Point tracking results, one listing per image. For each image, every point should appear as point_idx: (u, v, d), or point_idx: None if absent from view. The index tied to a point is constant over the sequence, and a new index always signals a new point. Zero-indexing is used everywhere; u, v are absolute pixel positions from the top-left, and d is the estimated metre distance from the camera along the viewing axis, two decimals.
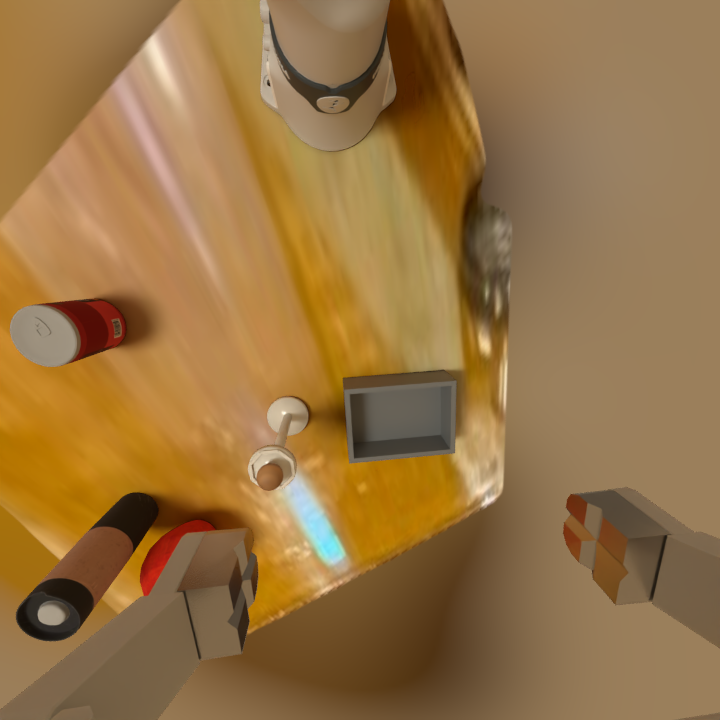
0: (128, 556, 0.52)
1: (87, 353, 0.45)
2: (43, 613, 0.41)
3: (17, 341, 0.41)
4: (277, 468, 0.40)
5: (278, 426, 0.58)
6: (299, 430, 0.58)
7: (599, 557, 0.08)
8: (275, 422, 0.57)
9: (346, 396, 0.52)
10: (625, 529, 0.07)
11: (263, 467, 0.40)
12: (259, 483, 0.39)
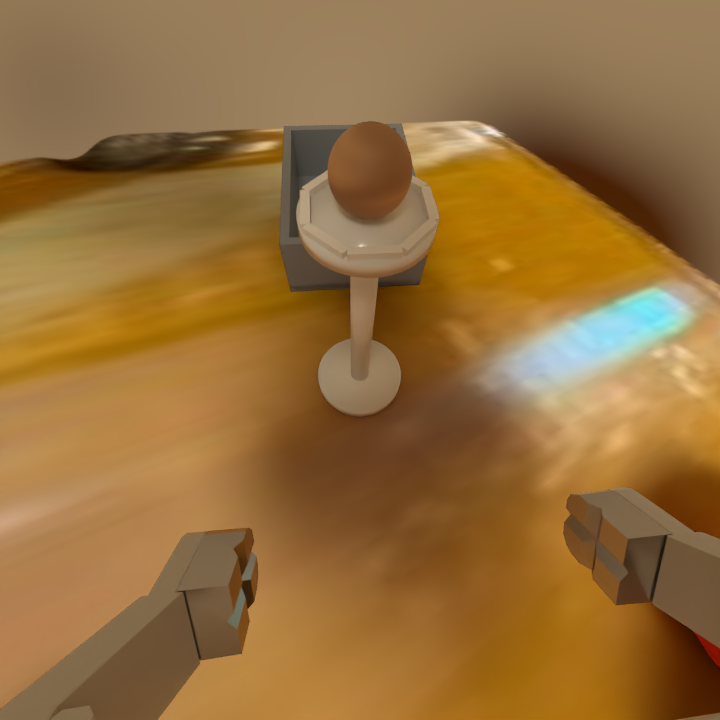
0: None
1: None
2: None
3: None
4: None
5: (380, 391, 0.27)
6: (388, 353, 0.29)
7: (599, 557, 0.08)
8: (371, 396, 0.27)
9: (293, 241, 0.28)
10: (625, 529, 0.07)
11: (331, 178, 0.12)
12: (374, 157, 0.11)
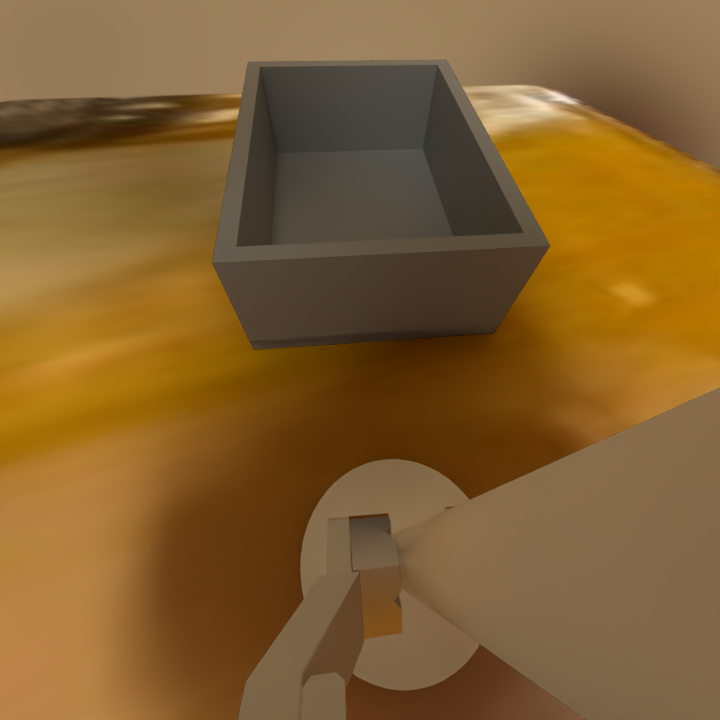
0: None
1: None
2: None
3: None
4: None
5: None
6: (459, 498, 0.13)
7: None
8: (432, 633, 0.11)
9: (244, 255, 0.12)
10: None
11: None
12: None
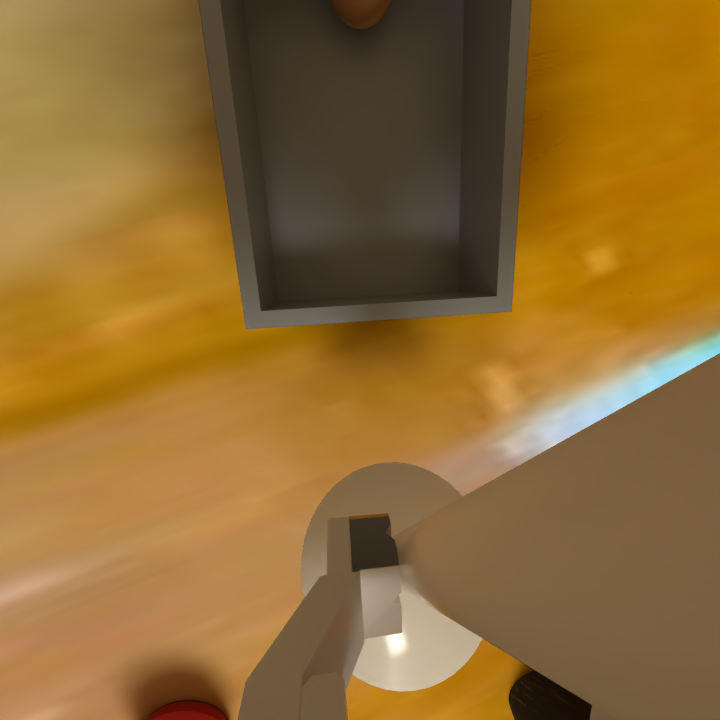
0: None
1: None
2: None
3: None
4: (363, 27, 0.16)
5: None
6: None
7: None
8: (430, 634, 0.11)
9: (269, 321, 0.16)
10: None
11: None
12: None
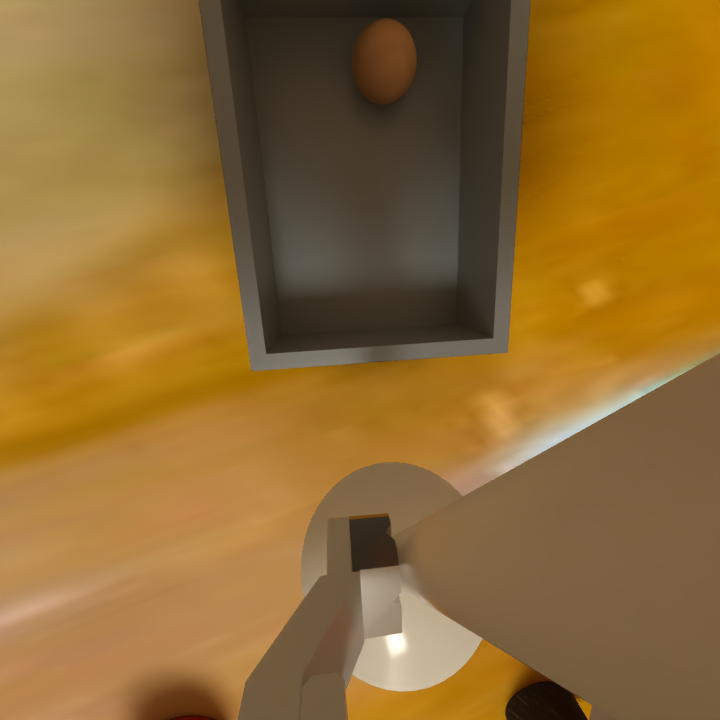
0: None
1: None
2: None
3: None
4: None
5: None
6: None
7: None
8: (431, 634, 0.11)
9: (274, 363, 0.16)
10: None
11: (353, 71, 0.17)
12: None
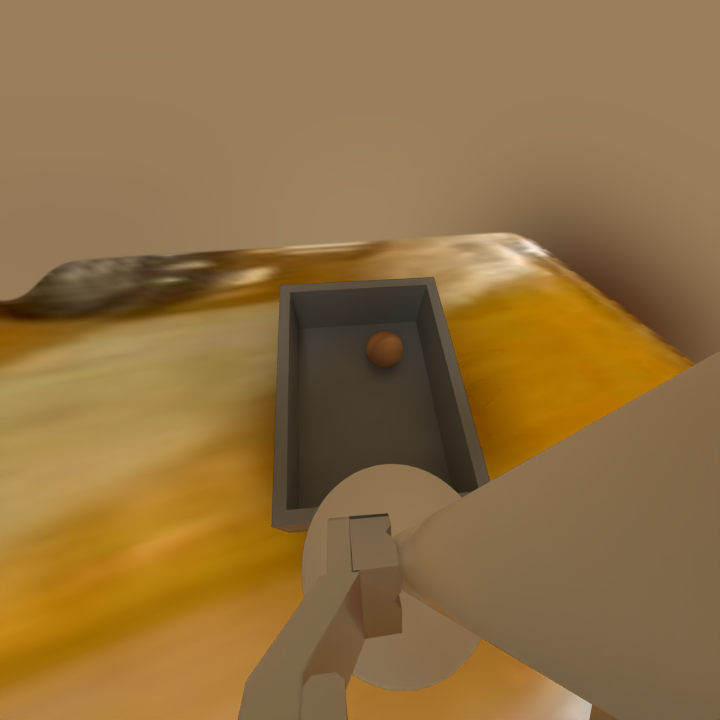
0: None
1: None
2: None
3: None
4: None
5: None
6: None
7: None
8: (430, 634, 0.11)
9: (292, 519, 0.19)
10: None
11: (368, 349, 0.28)
12: (379, 332, 0.28)
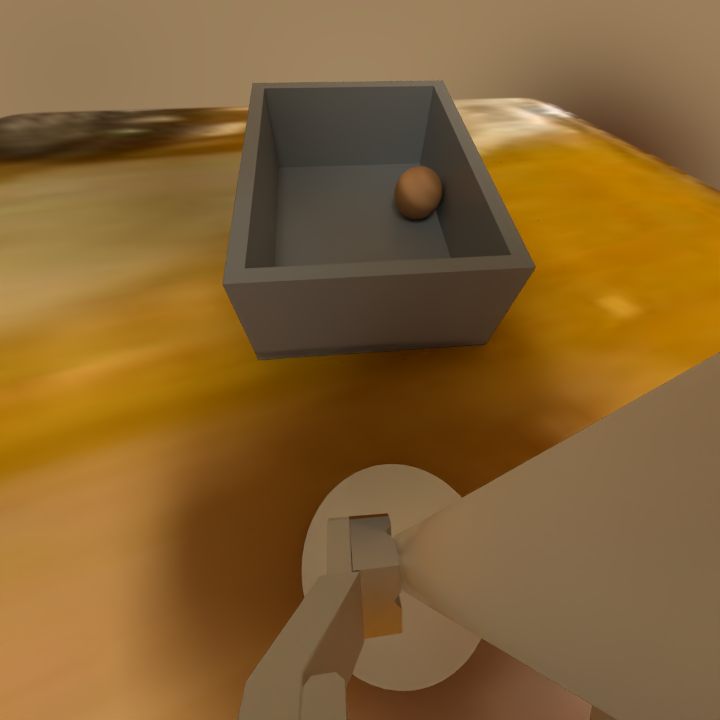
0: None
1: None
2: None
3: None
4: (402, 179, 0.21)
5: None
6: None
7: None
8: (430, 634, 0.11)
9: (252, 277, 0.13)
10: None
11: (415, 201, 0.21)
12: (440, 193, 0.22)
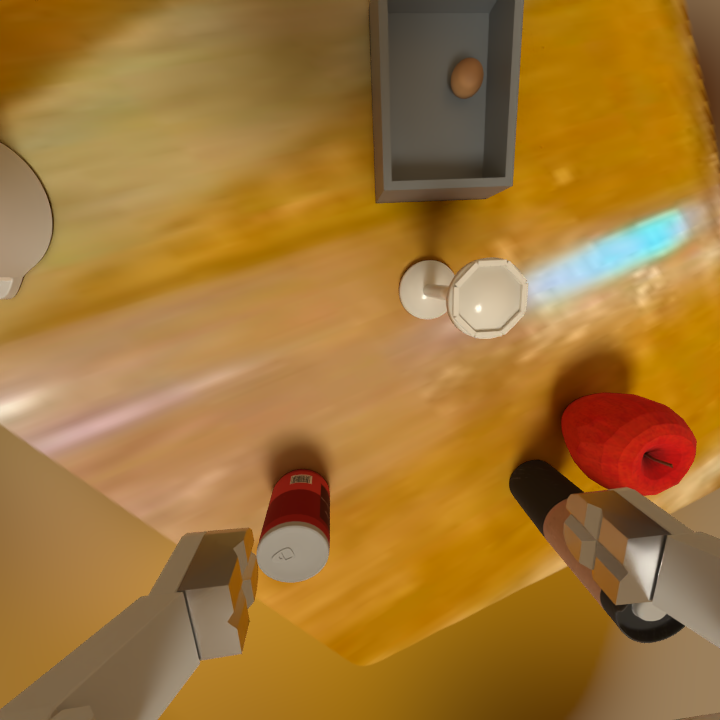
0: None
1: (319, 514, 0.38)
2: (648, 615, 0.31)
3: (299, 577, 0.37)
4: (451, 80, 0.33)
5: (441, 304, 0.41)
6: (451, 274, 0.40)
7: (599, 557, 0.08)
8: (435, 308, 0.41)
9: (395, 186, 0.32)
10: (625, 529, 0.07)
11: (460, 95, 0.34)
12: (477, 81, 0.33)
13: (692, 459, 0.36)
